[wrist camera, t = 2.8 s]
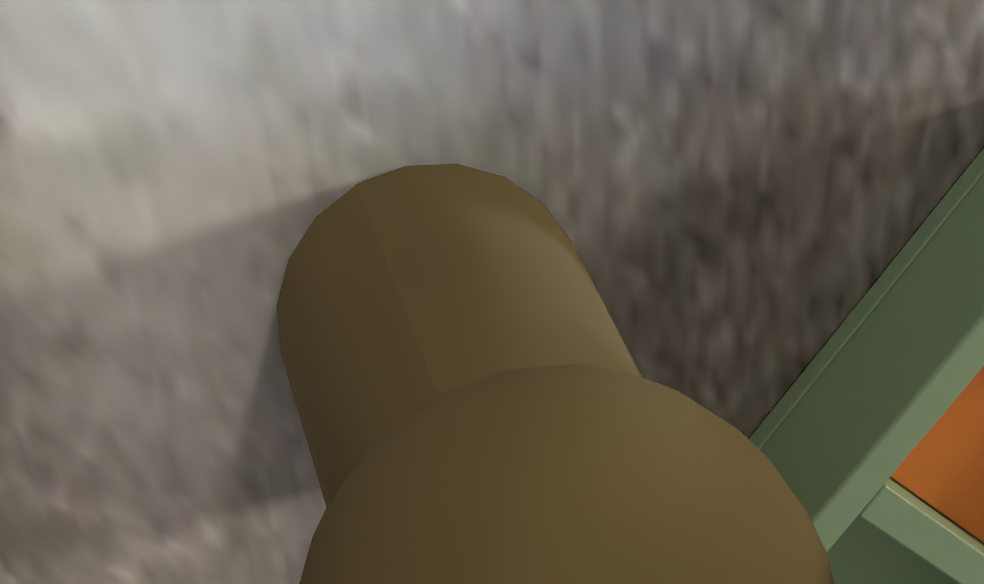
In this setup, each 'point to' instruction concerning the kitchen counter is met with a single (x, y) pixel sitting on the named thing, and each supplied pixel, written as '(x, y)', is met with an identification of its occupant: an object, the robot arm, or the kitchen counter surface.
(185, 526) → the kitchen counter surface
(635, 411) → the cork
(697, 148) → the kitchen counter surface
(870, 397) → the compartment tray
